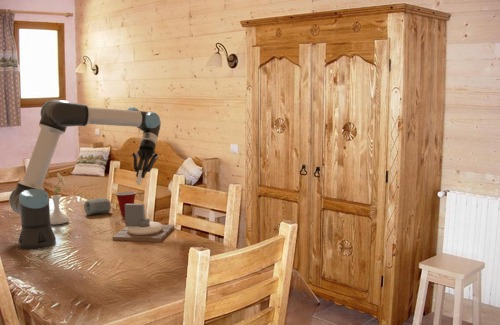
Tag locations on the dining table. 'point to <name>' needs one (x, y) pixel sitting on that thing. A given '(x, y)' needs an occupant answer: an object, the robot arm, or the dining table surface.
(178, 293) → the dining table surface
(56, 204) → the flower in vase
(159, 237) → the dial plate
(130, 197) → the plastic cup
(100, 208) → the rolled towel
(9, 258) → the dining table surface
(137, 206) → the dial
